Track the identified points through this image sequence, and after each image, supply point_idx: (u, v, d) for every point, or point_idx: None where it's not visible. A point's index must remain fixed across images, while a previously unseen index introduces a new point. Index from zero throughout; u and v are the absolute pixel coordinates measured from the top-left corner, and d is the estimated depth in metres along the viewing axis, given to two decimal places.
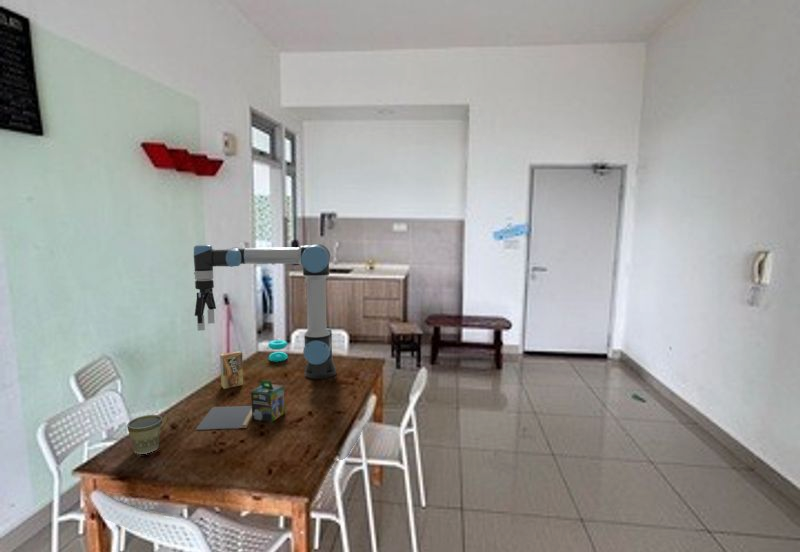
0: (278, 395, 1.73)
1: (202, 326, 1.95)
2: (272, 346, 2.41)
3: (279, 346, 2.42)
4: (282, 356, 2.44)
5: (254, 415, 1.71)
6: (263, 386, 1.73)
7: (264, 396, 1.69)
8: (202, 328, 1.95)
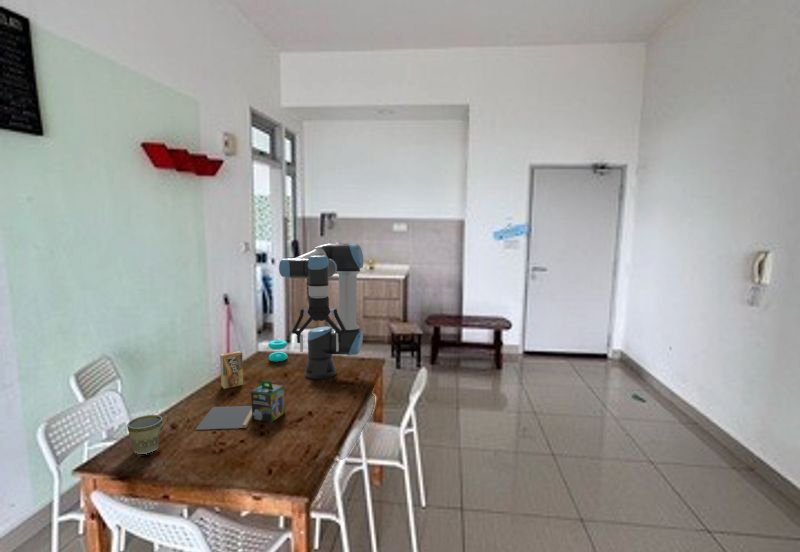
0: (278, 395, 1.73)
1: (300, 347, 1.72)
2: (272, 346, 2.41)
3: (279, 346, 2.42)
4: (282, 356, 2.44)
5: (254, 415, 1.71)
6: (263, 386, 1.73)
7: (264, 396, 1.69)
8: (300, 349, 1.72)
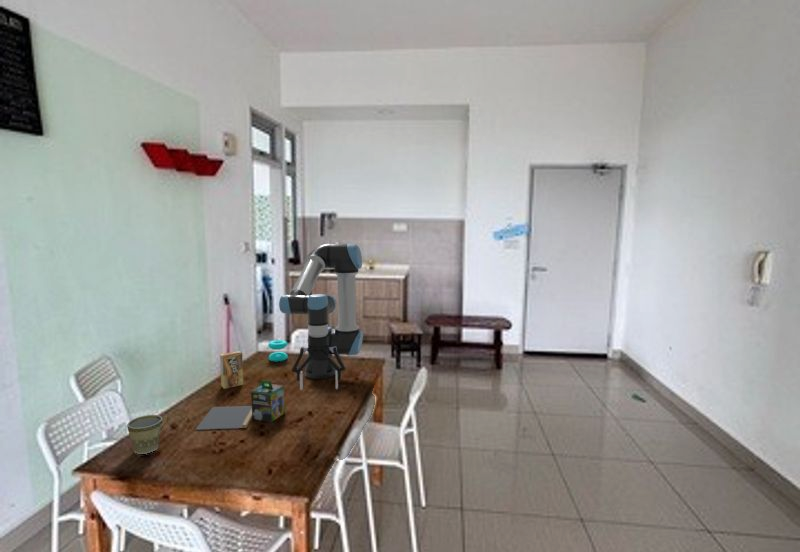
0: (278, 395, 1.73)
1: (300, 385, 1.74)
2: (272, 346, 2.41)
3: (279, 346, 2.42)
4: (282, 356, 2.44)
5: (254, 415, 1.71)
6: (263, 386, 1.73)
7: (264, 396, 1.69)
8: (300, 387, 1.74)
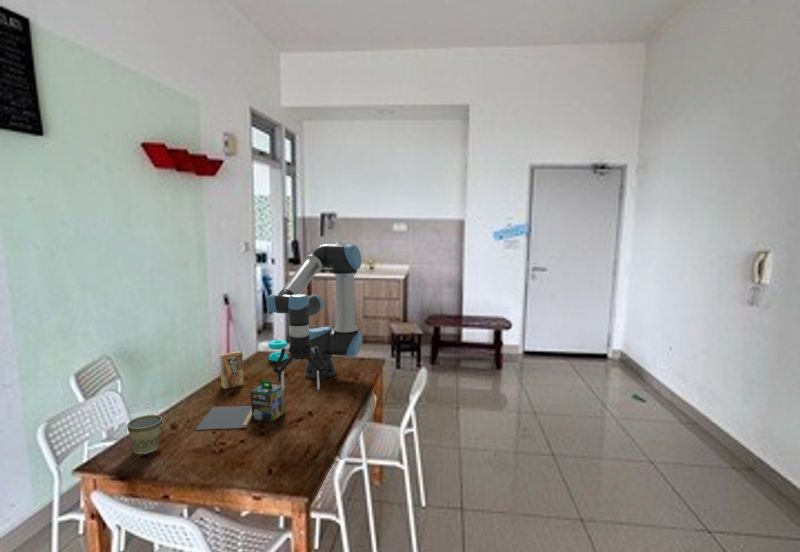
0: (278, 395, 1.73)
1: None
2: (272, 346, 2.41)
3: (279, 346, 2.42)
4: None
5: (254, 415, 1.71)
6: (263, 386, 1.73)
7: (263, 396, 1.69)
8: None
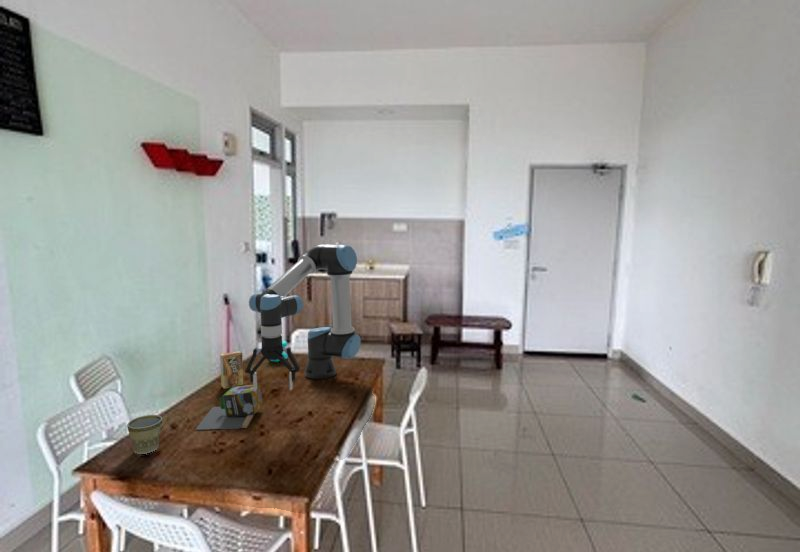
0: (234, 389, 1.76)
1: None
2: None
3: None
4: None
5: (249, 411, 1.72)
6: None
7: (226, 402, 1.72)
8: None
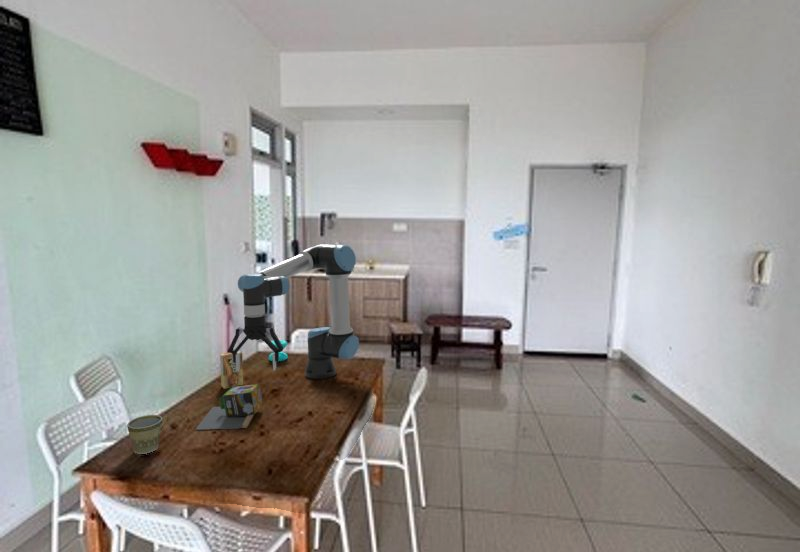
0: (234, 389, 1.76)
1: None
2: None
3: None
4: (282, 356, 2.44)
5: (249, 411, 1.72)
6: None
7: (226, 402, 1.72)
8: None
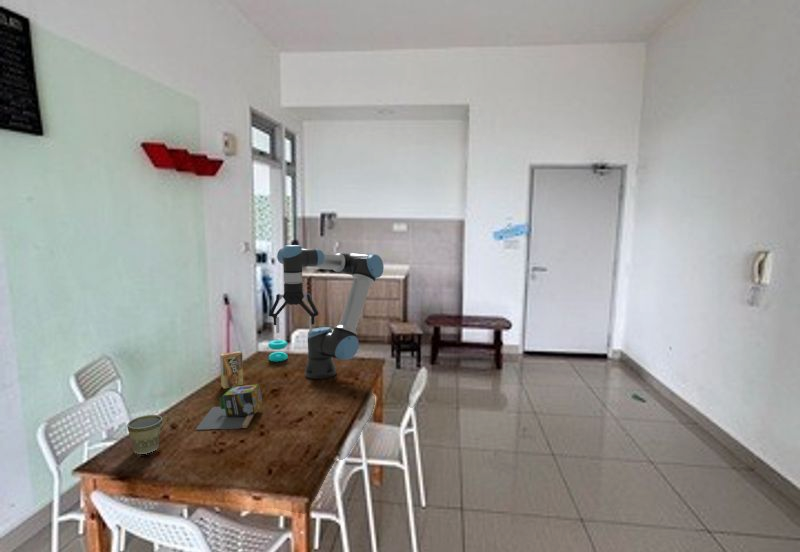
0: (234, 389, 1.76)
1: None
2: (272, 346, 2.41)
3: (279, 346, 2.42)
4: (282, 356, 2.44)
5: (249, 411, 1.72)
6: None
7: (226, 402, 1.72)
8: None
